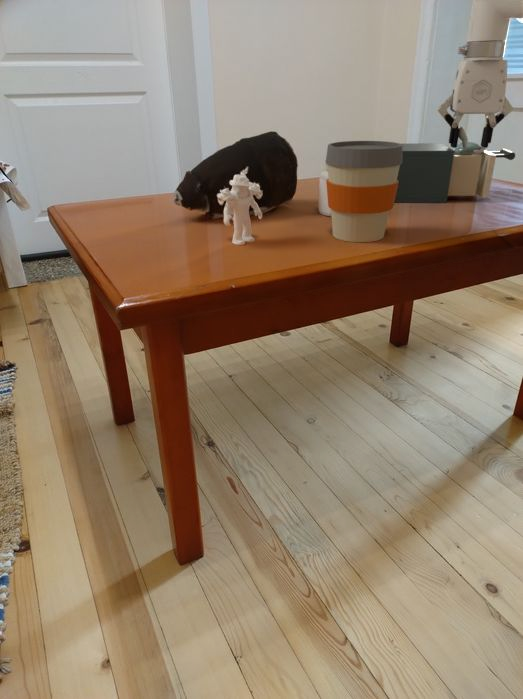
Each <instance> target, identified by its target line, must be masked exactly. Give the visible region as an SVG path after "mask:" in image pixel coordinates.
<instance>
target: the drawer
mask: <svg viewBox="0 0 523 699" xmlns="http://www.w3.org/2000/svg"><path fill="white" fill-rule="evenodd" d="M451 149H452V150H454V158H453V164H452V171H451V177H450V184H449V190H448V197H449V196H453V197H456V196H457V197H458V196H461V197H463V196H464V197H465V196H466V197H467V196H468V197H469V196H470V197H473V196H474V197H475V196H476V195H478V196H479V197H481V198H482V199H489V196H490V191H491V185H492V180H493V175H494V169H495V166H496V165H495V164H496V159H498V158H503V159H507V160H509V161H513V160H515V158H516V153H515V152H514V151H511V150H508V149H506V148H502V149H500V150H499V151H498V150H497V151H496V150H493V151H492V150H491V151H490V150H489V151H488V150H486V149H485V151H483V152H481V153H479V154H475V155H462V154H458V153H456V152H455V148H451ZM459 150H462V149H459ZM474 151H478V150H474Z"/></svg>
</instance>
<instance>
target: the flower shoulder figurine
mask: <svg viewBox="0 0 523 699" xmlns="http://www.w3.org/2000/svg"><path fill="white" fill-rule="evenodd" d="M247 169H248V167H247V168H246V169H245V170H243V171H242V172H241V175H234V178H233V180H230V185H232V189H231V191H229V188H225V189H223V190H222V191H221V190H220V192H221V193H219V194H217V197H218V202H219V204H220V205H222V204H223V203H224V201H227V202H226V204H225V207H224V217H223V224H224V226H226V227H230V226H231V223H230V220H232V221H233V229H234V232H233V235H232V241H231V242H232V244H233V245H236V246H243V245H246V242H247V243H253V242H255V240H256V239H255V237H253V236H252V224H251V223H252V222H251V217H250V215H249V206H250V205H251V206H252V208H253V209H254V212H255V215H254V216H255V217H257V216H258V217H257V218H258V219H259V220H262V219H263V214H262V212H261V211H260V209H259V207H258V205H257V203H256V202H255V200H254V198H253V195H255V196H256V195H258V196H256V197H257V198H258V199H260V198H261V197H262V194H263V193H262V191H260V186H259V185H258V184H259V183H258V184H256V183H255V182H254V183H251V182H249V179H248V178H247V177H246V175H245V174H246V173H247V171H248V170H247ZM219 199H220V200H219ZM230 214H231V215H233V216H231V215H230Z"/></svg>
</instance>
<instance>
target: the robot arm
mask: <svg viewBox="0 0 523 699" xmlns="http://www.w3.org/2000/svg"><path fill="white" fill-rule="evenodd" d="M514 19H515V20H518V21H519V22H520V23H522V24H523V0H472V3H471V9H470V16H469V24H468V30H467V36H466V43H465V44H464V45H462V46H458V48H457V55H461V56H462V57H463V60H460V61H459V64H458V67H457V71H456V74H455V78H454V83H453V86H452V91H451V95H450V96H449V97H448V98H447V99H446V100H445V101H444V102H443V103H442V104H441V105H440V106H438V107H437V112H438V113H439V115H440V116H441V117H442V119H444V120H445V122H446V124H448V126H449V127H450V129H449V130H450V131H449V136H448V144H450V148H452V149H455V148H456V147H457V145H458V144H459V143H458V141H459V130H460V129H459V128H460V127H459V124H460V122H461V120H462V118H463V116H464V115H484V117H485V121H486V122H485V123H486V124H485V126H484V127H483V130H482V135H481V140H480V141H481V142H480V146H482V147H484V148H486V149H487V148H488V147H489V144H491V143H492V138H493V133H494V128H496V127H497V125H498V124H500V122H502V121H503V120H505V118H506V117H507V116H508V115H509V114H511V113H512V112H513V110H514V106H513V105H512V104H511V103H510V101H509V99H507V97H506V89H507V81H508V59H504V56H505V51H506V44H507V38H508V34H509V29H510V24H511V23H510V22H511V20H514ZM448 109H449V111H451V112H452V113H454V114H453V116H452V115H451V113H449V111H448Z"/></svg>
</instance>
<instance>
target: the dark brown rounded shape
mask: <svg viewBox="0 0 523 699" xmlns="http://www.w3.org/2000/svg"><path fill="white" fill-rule="evenodd" d="M247 167H248V169H247V170H248V171H247V173H246V174H245V175H246V177H247V178H248V179H249V182H251V183H254V182H255V183H256V184H258V183H259V184H258V185H259V186H260V191H262V193H263V194H262V197H261V198H260V199H258V198H257V197H256V196H258V195H256V196H255V195H253V198H254V200H255V202H256V203H257V205H258V207H259V209H260V211H261V212H262V215H263V214H265V213H267V212H269V211H271V210H273V209H275V208H277V207H280V206H282V205H285V204H287V205H288V204H289V203H291V202H292V201H293V200H294V196H295V195H296V192H297V186H298V167H299V164H298V157H297V155H296V153H295V151H294V148H293V147H292V145H291V144H290V142H289V141H288V140H287V139H286V138H284V137H283V136H281V134H279V133H278V131H272V130H271V131H268V132H264V133H260V134H257V135H254V136H250V137H244V138H243V137H242V138H240V139H239V140H238V141H235V142H234V143H232V144H231V145H227V146H225V147H223V148H221V149H218V150H216V152H214V153H212V154H211V155H209V156H207V157H206V158H205V159H203V160H202V161H201V162H199V163H198V164H197V165H196V166H195V167H193V168H192V169H191V170H187V171H185V173H184V176H183V178H182V181H180V183H179V184H178V186H177V187H176V189H175V191H174V192H173V197H172V200H173V202H174V204H175V205H176V206H179V207H183V208H185V209H186V210H188V211H190V212H191V211H200V212H203V213H205V217H206V216H207V217H211V218H212V219H213V220H218V219H222V218H224V207H225V204H226V202H227V201H224V203H223V204H222V205H220V204H219V202H218V197H217V194H219V193H221V192H220V190H221V191H222V190H223V189H225V188H229V191H231V189H232V185H230V180H233V178H234V175H241V172H242V171H243V170H245V169H246V168H247ZM219 200H220V199H219ZM230 215H231V214H230ZM231 216H232V217H234V216H233V215H231ZM249 216H255V212H254V209H253V208H252V206H251V205H250V206H249Z"/></svg>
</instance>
